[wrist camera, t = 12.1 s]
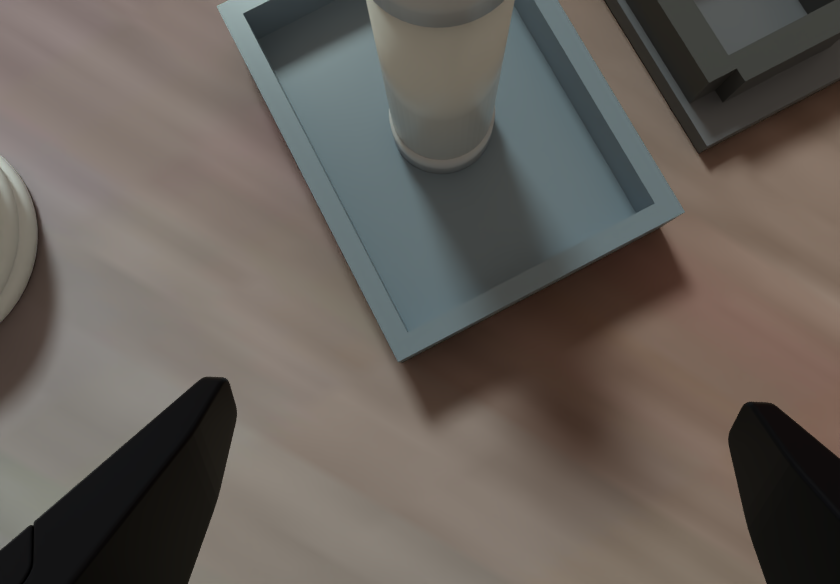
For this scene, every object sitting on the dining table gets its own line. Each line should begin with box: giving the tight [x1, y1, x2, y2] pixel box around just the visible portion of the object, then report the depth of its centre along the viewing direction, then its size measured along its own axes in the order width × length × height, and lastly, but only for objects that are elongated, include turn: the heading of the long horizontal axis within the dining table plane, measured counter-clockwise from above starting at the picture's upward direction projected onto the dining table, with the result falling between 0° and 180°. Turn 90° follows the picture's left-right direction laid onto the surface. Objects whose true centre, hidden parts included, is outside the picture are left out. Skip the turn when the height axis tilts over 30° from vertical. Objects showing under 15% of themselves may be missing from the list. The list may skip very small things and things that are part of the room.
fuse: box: [366, 0, 515, 174], centre depth 19 cm, size 4×4×12 cm
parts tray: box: [217, 0, 685, 362], centre depth 24 cm, size 16×12×2 cm
